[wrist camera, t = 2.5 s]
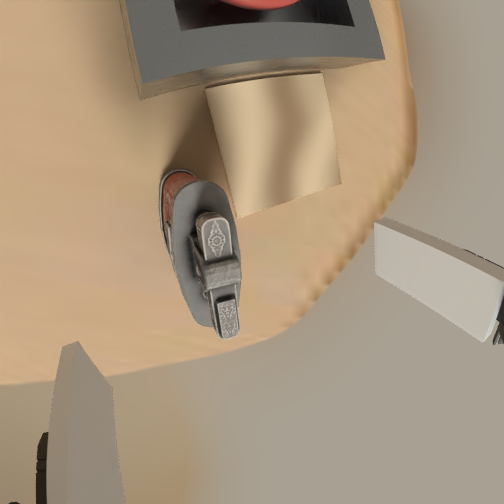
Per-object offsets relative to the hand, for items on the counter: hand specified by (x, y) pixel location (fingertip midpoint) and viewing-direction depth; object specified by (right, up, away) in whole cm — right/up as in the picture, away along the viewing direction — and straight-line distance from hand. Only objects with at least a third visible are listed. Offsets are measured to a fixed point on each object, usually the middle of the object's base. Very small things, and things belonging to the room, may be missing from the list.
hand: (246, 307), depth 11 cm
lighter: (-5, +4, +10) cm, 12 cm away
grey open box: (-1, +23, +4) cm, 23 cm away
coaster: (+2, +11, +10) cm, 15 cm away
